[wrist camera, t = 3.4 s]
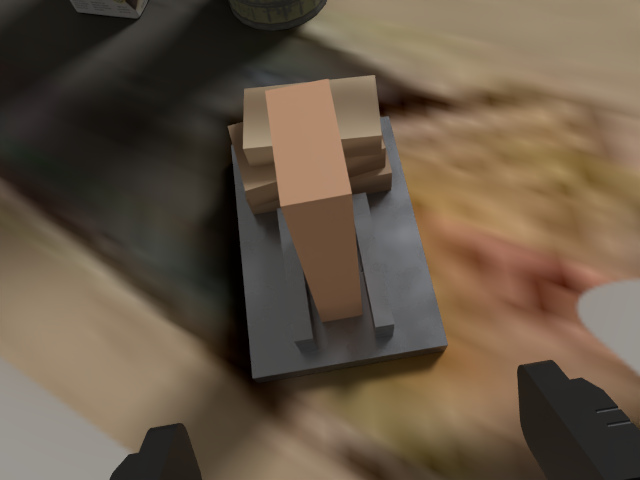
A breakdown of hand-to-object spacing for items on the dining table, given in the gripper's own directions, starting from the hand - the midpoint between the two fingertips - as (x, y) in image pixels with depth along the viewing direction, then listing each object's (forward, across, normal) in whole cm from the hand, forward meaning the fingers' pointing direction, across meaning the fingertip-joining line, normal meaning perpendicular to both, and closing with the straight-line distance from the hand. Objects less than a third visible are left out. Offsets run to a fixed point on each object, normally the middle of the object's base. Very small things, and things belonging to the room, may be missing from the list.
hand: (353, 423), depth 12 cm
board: (+18, 0, +4) cm, 19 cm away
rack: (+21, 0, +3) cm, 22 cm away
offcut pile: (+24, 0, -1) cm, 24 cm away
